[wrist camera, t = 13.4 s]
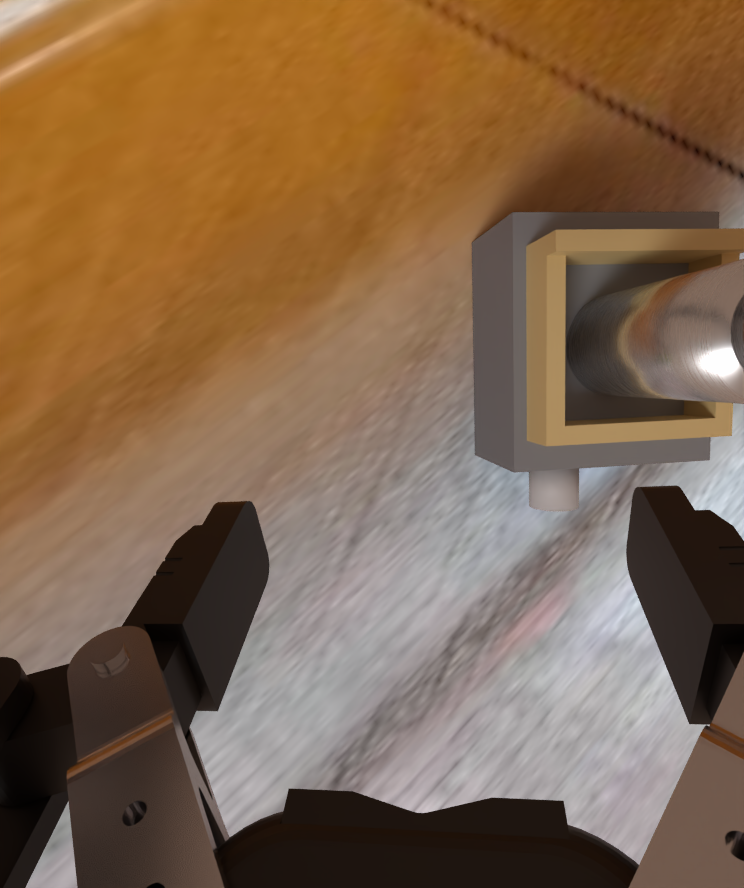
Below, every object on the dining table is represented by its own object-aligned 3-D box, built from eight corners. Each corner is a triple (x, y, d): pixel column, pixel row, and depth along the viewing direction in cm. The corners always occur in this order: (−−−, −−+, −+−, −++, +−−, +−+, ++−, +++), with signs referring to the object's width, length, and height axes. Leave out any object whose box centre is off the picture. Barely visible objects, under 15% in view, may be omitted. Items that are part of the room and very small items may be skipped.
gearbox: (471, 242, 37) (541, 191, 26) (643, 241, 38) (771, 191, 28) (475, 498, 39) (540, 542, 29) (637, 486, 40) (754, 525, 30)
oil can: (566, 294, 31) (797, 225, 17) (661, 293, 32) (960, 224, 17) (565, 397, 32) (787, 415, 17) (658, 393, 32) (943, 406, 18)
